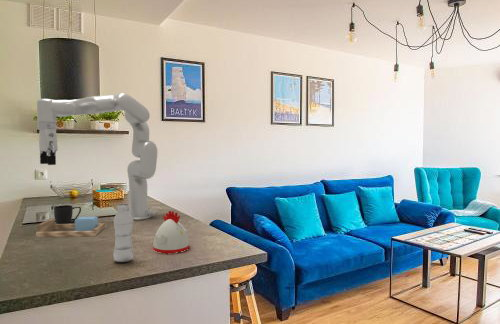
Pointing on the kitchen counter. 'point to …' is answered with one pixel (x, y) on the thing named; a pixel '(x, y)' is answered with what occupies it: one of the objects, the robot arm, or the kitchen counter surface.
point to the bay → (50, 225)
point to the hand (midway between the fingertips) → (47, 164)
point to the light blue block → (86, 223)
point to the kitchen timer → (171, 235)
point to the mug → (64, 214)
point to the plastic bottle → (123, 234)
